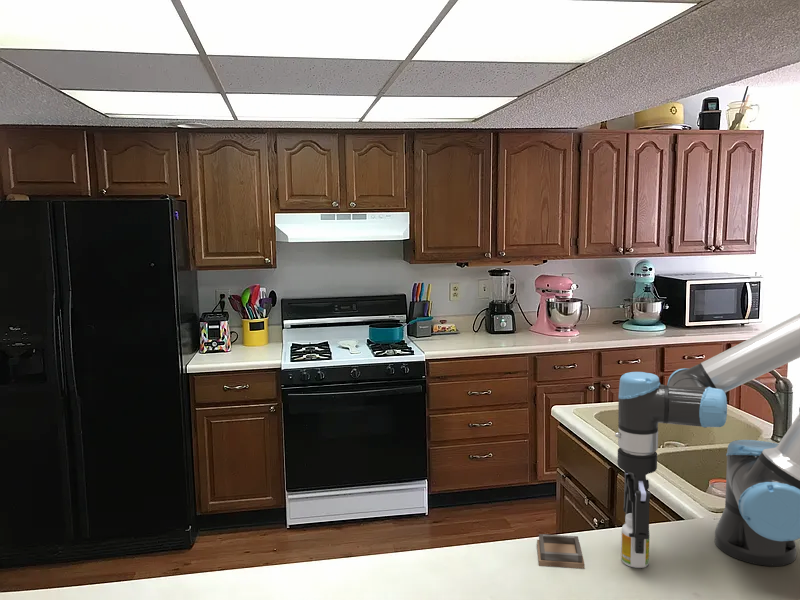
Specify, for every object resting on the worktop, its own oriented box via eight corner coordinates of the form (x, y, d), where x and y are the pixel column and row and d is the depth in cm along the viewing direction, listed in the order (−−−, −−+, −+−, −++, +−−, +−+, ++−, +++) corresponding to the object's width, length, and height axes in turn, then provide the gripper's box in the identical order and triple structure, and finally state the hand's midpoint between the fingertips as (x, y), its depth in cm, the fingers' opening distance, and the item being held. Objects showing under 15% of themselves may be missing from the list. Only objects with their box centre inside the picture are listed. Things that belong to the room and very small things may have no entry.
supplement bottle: (651, 569, 127) (652, 524, 126) (622, 567, 128) (623, 522, 127) (646, 556, 133) (647, 512, 131) (619, 554, 134) (620, 510, 133)
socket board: (579, 546, 137) (579, 535, 137) (584, 568, 128) (584, 556, 128) (537, 543, 139) (537, 533, 138) (539, 565, 130) (539, 554, 130)
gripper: (610, 433, 137) (608, 535, 140) (626, 465, 119) (623, 581, 122) (647, 435, 136) (644, 537, 139) (668, 467, 118) (665, 584, 121)
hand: (634, 558), depth 130 cm, fingers closed on supplement bottle, 5 cm apart
